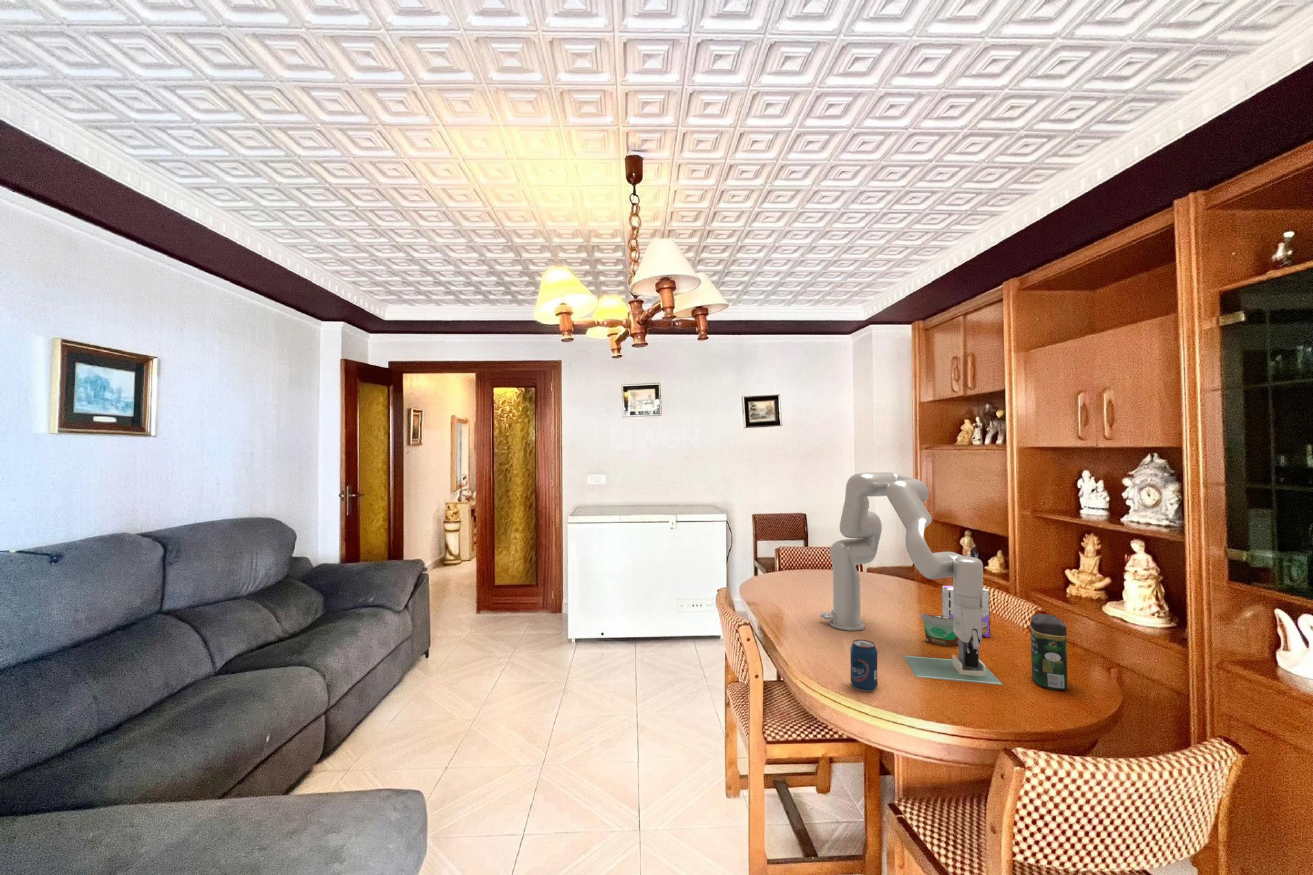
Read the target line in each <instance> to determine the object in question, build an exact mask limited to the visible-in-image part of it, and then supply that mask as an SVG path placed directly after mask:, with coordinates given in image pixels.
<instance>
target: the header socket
mask: <svg viewBox="0 0 1313 875" xmlns="http://www.w3.org/2000/svg"><path fill="white" fill-rule="evenodd" d="M952 659H953V666H954V667H955V669H956V670H957V671H958V672H959V674H961V675H973V676H984V677H986V667H987V666H986V664H985V663H984V662H983V661H981V660H980V658H979V669H977V670H978V671H973V670H972V669H970V670H966V669H965V668H963V669H964V670H962V663H961V662H960V661H959V657H957V656H956V654H952Z"/></svg>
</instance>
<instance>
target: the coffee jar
mask: <svg viewBox="0 0 1313 875" xmlns="http://www.w3.org/2000/svg"><path fill="white" fill-rule="evenodd" d="M1067 634H1068V633H1067V625H1066V624H1065V623H1064V622H1063V621H1062V620H1061V619H1059V618H1058V617H1056V616H1055V615H1052V614H1046V613H1037V614H1035V615H1033V616H1031V617H1030V652H1031V655H1030V656H1031V657H1030V658H1031V677H1032V679H1033V681H1034V682H1035V684H1037V685H1038V686H1041V687H1044V688H1046V689H1049V690H1054V691H1055V690H1056V691H1057V690H1067V689H1068V685H1069V684H1068V679H1069V678H1068V653H1067V651H1068V650H1067V645H1068V644H1067V643H1068V642H1067V641H1068V640H1067V638H1068V635H1067Z"/></svg>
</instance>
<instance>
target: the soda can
mask: <svg viewBox="0 0 1313 875" xmlns="http://www.w3.org/2000/svg"><path fill="white" fill-rule="evenodd" d="M878 678H879V677H878V649H877V648H876V644H875V642H873V641H871V640H867V639H854V640H853V641H852V644H851V645H850V682H851V684H852V686H853V688H855V689H856V690H858V691H861V692H869V693H870V692H873V691H875V690H876V688H877V687H878Z"/></svg>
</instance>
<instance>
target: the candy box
mask: <svg viewBox="0 0 1313 875" xmlns="http://www.w3.org/2000/svg"><path fill="white" fill-rule="evenodd" d="M941 602H942V604H941V605H942V606H941V609H942V610H941V611H942V612H941V613H942V615H941V616H945V617H949V618H954V606H955V605H954V604H953V585H942V586H941ZM990 606H991V604H990V590H989V589H987V588H984V587H983V608H982V609H980V610H981V620H982V638H990V637H991V609H990V608H991V607H990Z"/></svg>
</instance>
